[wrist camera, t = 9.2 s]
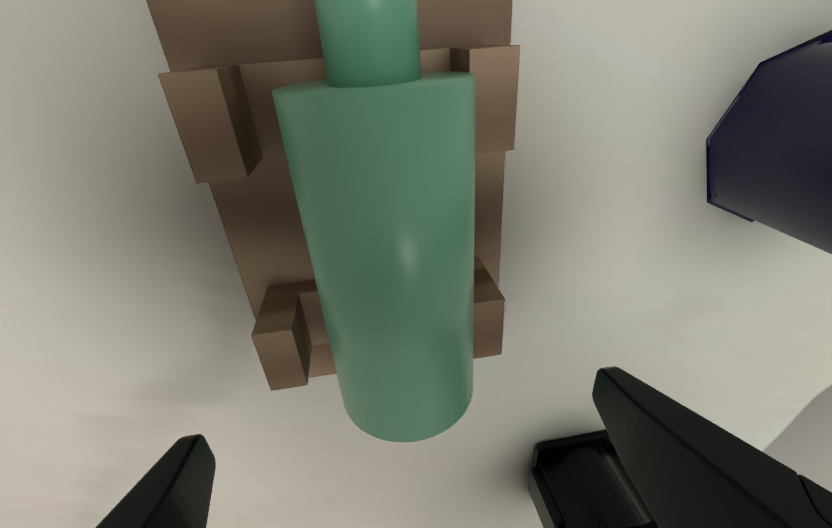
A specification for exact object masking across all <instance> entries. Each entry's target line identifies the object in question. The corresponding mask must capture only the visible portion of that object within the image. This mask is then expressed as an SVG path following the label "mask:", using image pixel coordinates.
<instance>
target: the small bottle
mask: <svg viewBox="0 0 832 528" xmlns="http://www.w3.org/2000/svg"><path fill="white" fill-rule="evenodd" d="M314 2H315V8H316V14H317V20H318V26H319V32H320V38H321V44H322V50H323V57H324V63H325V69H326V75H327V79H322V80H315V81H309V82H302V83H297V84H292V85H287V86H283V87H280V88H277V89H275V90H273V91H272V96H273V100H274V105H275V109H276V113H277V117H278V122H279V126H280V130H281V135H282V139H283V143H284V148H285V152H286V156H287V161H288V165H289V169H290V174H291V178H292V182H293V186H294V191H295V195H296V199H297V204H298V208H299V212H300V217H301V221H302V225H303V230H304V234H305V238H306V242H307V247H308V251H309V255H310V260H311V264H312V268H313V273H314V277H315V281H316V286H317V290H318V294H319V299H320V303H321V307H322V311H323V316H324V320H325V324H326V329H327V333H328V337H329V342H330V346H331V350H332V355H333V359H334V363H335V367H336V372H337V376H338V380H339V385H340V389H341V393H342V398H343V402H344V406H345V409H346V411H347V413H348V415H349V417H350V419H351V420H352V421H353V422H354V423H355V424H356V425H357V426H358V427H359V428H360V429H361V430H363V431H364V432H366V433H368V434H370V435H372V436H374V437H376V438H379V439H383V440H387V441H393V442H413V441H419V440H424V439H427V438H430V437H433V436H435V435H438V434H440V433H442V432H443V431H445V430H447V429H448V428H450V427H451V426H452V425H454V424H455V423H456V422H457V421H458V420H459V419H460V418H461V417H462V415H463V414H464V413H465V411H466V410H467V408H468V406H469V404H470V401H471V397H472V391H473V321H474V227H475V132H476V74H474V73H470V72H461V71H421V62H420V43H419V25H418V6H417V0H314Z"/></svg>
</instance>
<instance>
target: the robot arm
mask: <svg viewBox="0 0 832 528" xmlns="http://www.w3.org/2000/svg"><path fill="white" fill-rule="evenodd" d="M592 397H593V401H594V404H595V406H596V408H597V410H598V412H599V415H600V417H601V419H602V421H603V423H604V425H605V428H606V430H607V432H603V433H597V434H592V435H586V436H581V437H575V438H570V439H564V440H559V441H553V442H548V443H543V444H540V445H538V446H537V447H536V449H535V455H534V462H533V468H532V470H531V472H530V479H529V487H528V490H529V493H530V495H531V498H532V500H533V502H534V505H535V507H536V510H537V512H538V515H539V517H540V520H541V522H542V525H543V527H544V528H832V492H830V491H828V490H826V489H825V488H823V487H821V486H820V485H818V484H816V483H815V482H813V481H811V480H809V479H808V478H806V477H804V476H802V475H797V473H796V472H795V471H794V470H792V469H791V468H789V467H787V466H785V465H784V464H782V463H780V462H779V461H776V460H775V459H773V458H772V457H770V456H768V455H767V454H765V453H763V452H762V451H760V450H758V449H756V448H755V447H753V446H751V445H750V444H748V443H746V442H745V441H743V440H741V439H739V438H738V437H736V436H734V435H733V434H731V433H729V432H728V431H726V430H724V429H722V428H721V427H719V426H717V425H716V424H714V423H712V422H711V421H709V420H707V419H705V418H704V417H702V416H700V415H699V414H697V413H695V412H693V411H692V410H690V409H688V408H687V407H685V406H683V405H682V404H680V403H678V402H676V401H675V400H673V399H671V398H670V397H668V396H666V395H665V394H663V393H661V392H659V391H658V390H656V389H654V388H653V387H651V386H649V385H648V384H646V383H644V382H642V381H641V380H639V379H637V378H636V377H634V376H632V375H631V374H629V373H627V372H625V371H624V370H622V369H620V368H618V367H615V366H613V367H606V368H601V369H599V370H598V371H597V374H596V378H595V383H594V387H593V392H592ZM215 465H216V463H215V457H214V455H213V453H212V451H211V449H210V447H209V445H208V443H207V441H206V439H205V438H204V436H203V435H201V434H196V435H190V436H185V437H182V438H180V439H179V440H177V441H176V442H175V443H174V445H173V446H172V447H171V448H170V449H169V450H168V451H167V452H166V453H165V454H164V455H163V456H162V457H161V458H160V459H159V460H158V462H157V463H156V464H155V465H154V466H153V467H152V468H151V469H150V470H149V471H148V472H147V473H146V474H145V475H144V476H143V478H142V479H141V480H140V481H139V482H138V483H137V484H136V485H135V486H134V487H133V488H132V489H131V490H130V491H129V492H128V493H127V495H126V496H125V497H124V498H123V499H122V500H121V501H120V502H119V503H118V504H117V505H116V506H115V507H114V508H113V509H112V510H111V512H110V513H109V514H108V515H107V516H106V517H105V518H104V519H103V520H102V521H101V522H100V523H99V524H98V525H97V526H96V528H206V525H207V518H208V512H209V506H210V499H211V493H212V486H213V480H214V474H215Z"/></svg>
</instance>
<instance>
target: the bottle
mask: <svg viewBox="0 0 832 528" xmlns="http://www.w3.org/2000/svg"><path fill="white" fill-rule="evenodd" d="M707 202H708V203H710V204H712V205H714V206H717V207H719V208H721V209H723V210H726V211H728V212H730V213H732V214H735V215H737V216H739V217H741V218H744V219H746V220H748V221H751V222H753V221H757V222H759V223H762V224H764V225H766V226H769V227H771V228H773V229H775V230H778V231H780V232H782V233H785V234H787V235H789V236H791V237H794V238H796V239H798V240H800V241H803V242H805V243H807V244H810V245H812V246H814V247H816V248H819V249H821V250H823V251H825V252H828V253H830V254H832V30H831V31H829V32H827V33H825V34H823V35H820V36H818V37H816V38H814V39H812V40H809V41H807V42H805V43H803V44H801V45H798V46H796V47H794V48H792V49H790V50H787V51H785V52H783V53H781V54H779V55H776V56H774V57H772V58H770V59H768V60H766V61H763V62H761V63H760V64H759V66H758V67H757V69H756V70H755V71H754V73H753V74H752V76H751V77H750V79H749V80H748V81H747V83H746V84H745V86H744V87H743V89H742V90H741V91H740V93H739V94H738V96H737V97H736V99H735V100H734V101H733V103H732V104H731V106H730V107H729V108H728V110H727V111H726V113H725V114H724V116H723V117H722V118H721V120H720V121H719V123H718V124H717V126H716V127H715V128H714V130H713V131H712V133H711V134H710V136H709V137H708V138H707Z"/></svg>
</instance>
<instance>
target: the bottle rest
mask: <svg viewBox="0 0 832 528" xmlns="http://www.w3.org/2000/svg"><path fill="white" fill-rule="evenodd" d="M146 1H147V4H148V7H149V10H150V13H151V16H152V18H153V21H154V24H155V27H156V30H157V33H158V36H159V39H160V42H161V45H162V48H163V51H164V54H165V56H166V59H167V62H168V65H169V68H170V71H171V72H167V73H162V74H158V77H159V79H160V82H161V85H162V88H163V91H164V93H165V96H166V99H167V102H168V105H169V107H170V110H171V113H172V116H173V118H174V121H175V124H176V127H177V130H178V132H179V135H180V138H181V141H182V144H183V146H184V149H185V152H186V155H187V158H188V160H189V163H190V166H191V169H192V171H193V174H194V177H195V180H196V183H206V182H209V185H210V188H211V191H212V194H213V197H214V200H215V202H216V205H217V208H218V211H219V214H220V217H221V220H222V223H223V226H224V229H225V232H226V235H227V238H228V240H229V243H230V246H231V249H232V252H233V255H234V258H235V261H236V264H237V267H238V270H239V273H240V275H241V278H242V281H243V284H244V287H245V290H246V293H247V296H248V299H249V302H250V305H251V308H252V311H253V313H254V316H255V319H256V323H255V326H254V329H253V332H252V335H251V336H252V339H253V342H254V344H255V347H256V350H257V353H258V355H259V358H260V361H261V364H262V367H263V369H264V372H265V375H266V378H267V381H268V383H269V386H270V389H271V391H272V390H279V389H285V388H291V387H297V386H304V385H307V384H308V378H310V377H316V376H323V375H329V374H336V373H337V372H336V367H335V363H334V359H333V355H332V350H331V346H330V342H329V337H328V333H327V329H326V324H325V320H324V316H323V311H322V307H321V303H320V299H319V294H318V290H317V286H316V281H315V277H314V273H313V268H312V264H311V260H310V255H309V251H308V247H307V242H306V238H305V234H304V230H303V225H302V221H301V217H300V212H299V208H298V204H297V199H296V195H295V191H294V186H293V182H292V178H291V174H290V169H289V165H288V161H287V156H286V152H285V148H284V143H283V139H282V135H281V130H280V126H279V122H278V117H277V113H276V109H275V105H274V100H273V96H272V91H273V90H275V89H277V88H280V87H283V86H287V85H292V84H297V83H302V82H309V81H315V80H322V79H327V75H326V69H325V63H324V57H323V50H322V44H321V38H320V32H319V26H318V20H317V14H316V8H315V2H314V0H146ZM417 6H418V25H419V43H420V62H421V71H461V72H470V73H474V74H476V132H475V227H474V321H473V359H475V358H481V357H487V356H494V355H500V354H501V352H502V335H503V319H504V302H505V299H504V297H503V295H502V294H501V292H500V291H499V289H498V281H499V261H500V241H501V221H502V200H503V180H504V160H505V151H508V150H514V137H515V121H516V104H517V88H518V71H519V55H520V45H510V39H511V18H512V0H417Z"/></svg>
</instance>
